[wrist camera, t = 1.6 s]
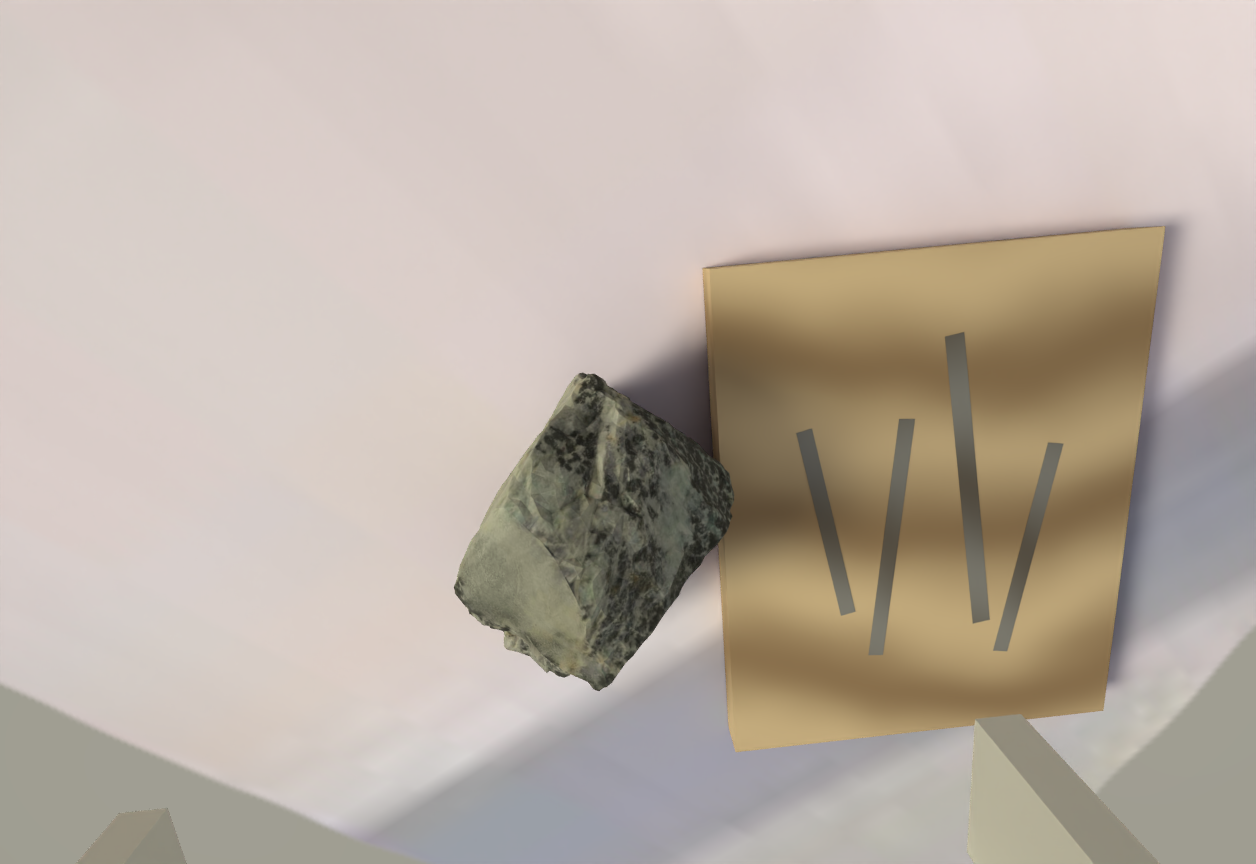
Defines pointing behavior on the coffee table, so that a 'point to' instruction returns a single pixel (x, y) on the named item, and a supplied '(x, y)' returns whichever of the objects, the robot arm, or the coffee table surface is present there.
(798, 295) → the board
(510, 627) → the stone
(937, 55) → the coffee table surface
